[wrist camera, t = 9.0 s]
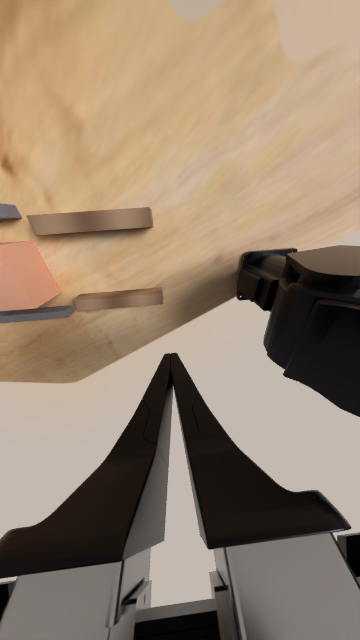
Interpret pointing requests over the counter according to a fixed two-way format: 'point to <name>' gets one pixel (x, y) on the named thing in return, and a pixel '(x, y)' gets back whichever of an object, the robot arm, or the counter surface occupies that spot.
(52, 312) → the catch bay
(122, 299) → the wooden blocks
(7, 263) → the terracotta block
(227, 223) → the counter surface
